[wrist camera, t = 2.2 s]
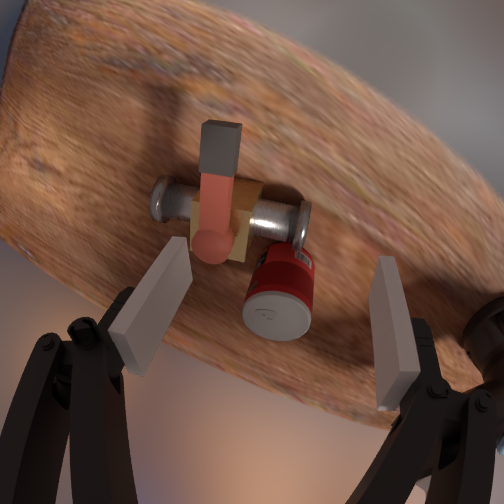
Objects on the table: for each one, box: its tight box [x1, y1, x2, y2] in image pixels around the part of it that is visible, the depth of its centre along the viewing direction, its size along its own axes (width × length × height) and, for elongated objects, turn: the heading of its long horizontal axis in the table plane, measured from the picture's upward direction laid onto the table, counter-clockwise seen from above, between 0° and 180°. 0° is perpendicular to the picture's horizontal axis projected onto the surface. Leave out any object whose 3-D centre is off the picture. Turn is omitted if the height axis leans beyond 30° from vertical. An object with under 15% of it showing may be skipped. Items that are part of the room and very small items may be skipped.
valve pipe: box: [150, 175, 312, 262], centre depth 37 cm, size 18×6×9 cm, turn 83°
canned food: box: [242, 242, 315, 341], centre depth 40 cm, size 8×8×11 cm
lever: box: [191, 119, 242, 264], centre depth 29 cm, size 14×4×2 cm, turn 173°
